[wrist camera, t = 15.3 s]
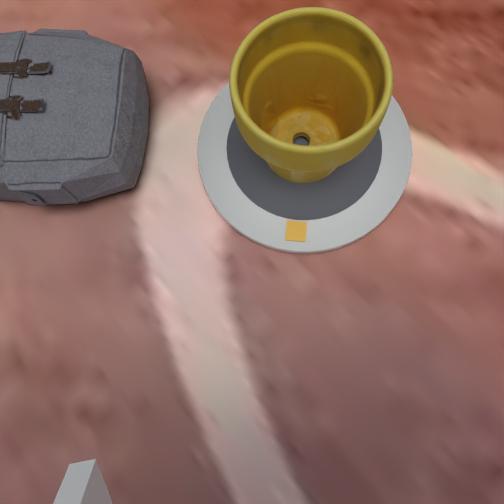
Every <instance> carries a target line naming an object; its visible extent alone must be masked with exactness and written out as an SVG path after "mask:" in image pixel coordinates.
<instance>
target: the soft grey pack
mask: <svg viewBox="0 0 504 504" xmlns="http://www.w3.org/2000/svg"><path fill="white" fill-rule="evenodd" d="M148 119H149V97H148V90H147V84H146V77H145V73H144V69H143V66H142V62H141V60H140V59H139V58H138V56H137V55H136V54H135V52H134V51H132V50H129V49H126V48H124V47H121V46H118V45H116V44H113V43H110V42H107V41H105V40H102V39H99V38H96V37H94V36H91V35H88V34H87V32H86V31H82V30H58V29H39V30H37V31H36V32H35V33H27V32H26V31H18V32H8V33H0V200H10V201H25V202H26V203H27V204H29V205H41V206H47V205H48V204H77V203H78V202H79V201H89V200H93V199H96V198H100V197H103V196H106V195H110V194H113V193H117V192H120V191H123V190H127V189H130V188H134V186H135V185H136V182H137V179H138V176H139V173H140V170H141V168H142V163H143V157H144V152H145V146H146V140H147V135H148Z"/></svg>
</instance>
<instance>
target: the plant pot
mask: <svg viewBox="0 0 504 504" xmlns="http://www.w3.org/2000/svg"><path fill="white" fill-rule="evenodd" d="M229 89H230V96H231V102H232V107H233V112H234V116H235V119H236V123H237V125H238V128H239V131H240V133H241V135H242V136H243V138H244V140H245V141H246V143H247V144H248V145H249V146H250V148H251V149H252V150H253V151H254V152H255V153H256V154H257V155H259V156H260V157H261V158H263V159H264V160H266V162H267V164H268V165H269V167H270V168H271V169H272V170H273V171H274V172H275V173H276V174H277V175H278V176H280V177H281V178H283V179H285V180H287V181H290V182H294V183H312V182H316V181H319V180H321V179H323V178H325V177H327V176H328V175H330V174H331V173H332V172H333V171H334V170H335V169H336V168H337V167H338V166H341V165H343V164H345V163H347V162H348V161H350V160H352V159H353V158H355V157H356V156H357V155H358V154H360V153H361V152H362V151H363V150H364V149H365V148H366V147H367V146H368V144H369V143H370V142H371V140H372V139H373V137H374V136H375V134H376V132H377V130H378V129H379V127H380V125H381V123H382V120H383V118H384V116H385V114H386V111H387V109H388V106H389V103H390V100H391V96H392V91H393V70H392V65H391V61H390V58H389V55H388V53H387V51H386V49H385V47H384V45H383V43H382V42H381V41H380V39H379V38H378V36H377V35H376V34H375V33H374V32H373V31H372V30H371V29H370V28H369V27H368V26H366V25H365V24H364V23H362V22H361V21H359V20H358V19H356V18H355V17H353V16H351V15H349V14H346V13H344V12H341V11H337V10H334V9H328V8H320V7H306V8H297V9H292V10H288V11H284V12H282V13H279V14H276V15H274V16H272V17H270V18H268V19H267V20H265V21H263V22H262V23H260V24H259V25H258V26H256V27H255V28H254V29H253V30H252V31H251V32H250V33H249V34H248V35H247V36H246V37H245V39H244V40H243V41H242V43H241V44H240V46H239V47H238V49H237V51H236V53H235V56H234V58H233V61H232V64H231V69H230V75H229ZM298 136H304V137H305V138H307V139H308V142H309V144H308V145H307V146H304V145H296V144H294V140H295V138H296V137H298Z"/></svg>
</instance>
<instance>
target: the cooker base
mask: <svg viewBox="0 0 504 504" xmlns="http://www.w3.org/2000/svg"><path fill="white" fill-rule="evenodd" d="M294 144H296V145H304V146H307V145H308V144H309V142H308V139H307V138H305V137H304V136H298V137H296V138H295V140H294ZM197 152H198V165H199V170H200V175H201V178H202V181H203V184H204V186H205V189H206V192H207V194H208V196H209V198H210V200H211V202H212V204H213V206H214V207H215V209H216V210H217V211H218V213H219V214H220V216H221V217H222V218H223V219H224V220H225V221H226V222H227V223H228V224H229V225H230V226H231V227H232V228H233V229H234V230H235V231H237V232H238V233H239V234H240V235H242V236H243V237H245V238H247V239H248V240H250V241H252V242H254V243H256V244H258V245H260V246H263V247H265V248H268V249H271V250H275V251H278V252H283V253H290V254H306V255H308V254H318V253H325V252H329V251H334V250H337V249H340V248H342V247H345V246H348V245H350V244H352V243H354V242H356V241H358V240H360V239H361V238H363V237H364V236H366V235H367V234H368V233H370V232H371V231H373V230H374V229H375V228H376V227H377V226H378V225H379V224H380V223H381V222H382V221H383V220H384V219H385V218H386V216H387V215H388V214H389V213H390V211H391V210H392V209H393V208H394V206H395V205H396V203H397V202H398V200H399V198H400V197H401V195H402V193H403V191H404V188H405V186H406V184H407V181H408V177H409V173H410V169H411V162H412V141H411V136H410V131H409V127H408V124H407V121H406V118H405V116H404V114H403V112H402V110H401V108H400V106H399V104H398V103H397V101H396V100H395V99H394V97H393V96H391V100H390V103H389V106H388V109H387V111H386V114H385V116H384V118H383V120H382V123H381V125H380V127H379V129H378V130H377V132H376V134H375V136H374V137H373V139H372V140H371V142H370V143H369V144H368V146H367V147H366V148H365V149H364V150H363V151H362V152H361V153H360V154H358V155H357V156H356V157H355V158H353V159H352V160H350V161H348V162H347V163H345V164H343V165H341V166H338V167H337V168H336V169H335V170H334V171H333V172H332V173H331V174H330V175H328V176H327V177H325V178H323V179H321V180H319V181H316V182H312V183H294V182H290V181H287V180H285V179H283V178H281V177H280V176H278V175H277V174H276V173H275V172H274V171H273V170H272V169H271V168H270V167H269V165H268V164H267V162H266V160H264V159H263V158H261V157H260V156H259V155H257V154H256V153H255V152H254V151H253V150H252V149H251V148H250V146H249V145H248V144H247V143H246V141H245V140H244V138H243V136H242V135H241V133H240V131H239V128H238V125H237V123H236V119H235V116H234V112H233V107H232V102H231V96H230V89H229V83H228V84H227V85H226V86H225V87H224V88H223V89H222V90H221V91H220V92H219V93H218V95H217V96H216V98H215V99H214V100H213V102H212V103H211V105H210V107H209V109H208V111H207V112H206V114H205V117H204V120H203V122H202V125H201V129H200V134H199V138H198V150H197Z"/></svg>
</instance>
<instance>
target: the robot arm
mask: <svg viewBox="0 0 504 504" xmlns="http://www.w3.org/2000/svg"><path fill="white" fill-rule="evenodd" d="M53 504H113V503H112V500H111V498H110V495H109V492H108V490H107V487H106V484H105V482H104V479H103V476H102V474H101V471H100V468H99V466H98V463H97V460H96V459H93V460H88V461H83V462H78V463H73V464H69V467H68V469H67V472H66V474H65V476H64V479H63V481H62V484H61V486H60V488H59V491H58V493H57V496H56V498H55V500H54V503H53Z"/></svg>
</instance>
